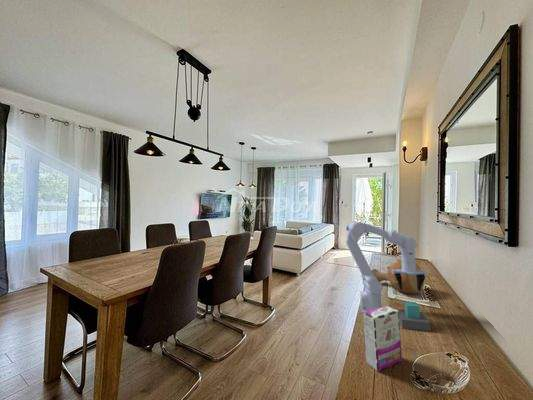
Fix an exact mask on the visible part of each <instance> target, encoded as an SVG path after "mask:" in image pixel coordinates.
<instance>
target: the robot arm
mask: <svg viewBox="0 0 533 400" xmlns="http://www.w3.org/2000/svg"><path fill="white" fill-rule="evenodd" d="M368 233H371V234H373V235H377V236H379V237H383V238H384V239H385V241H386V242H387V243H391V244H394V245H396V246H399V247H400V257H401V258H400V259H401V260H400V261H402V269H392V274H394V275H395V277H396V279H397V281H398V284H399V288H400V290H402V277H401V275H400V274H405V275H416V277H417V290H418V291H421V286H422V283H423V281H424V282H425V280H426V277H427V276H428V272H427V271H426V270H422V269H421V270H422V271H421V270H416V266H415V262H416V248H417V247H418V242H417V241H416V240H415V238H413V237H411V236H407V235H406V234H404V233H400V232H397V230H395V229H389V230H387V231H386V230H385V229H381V228H380V227H377V226H374V225H372V224H369V223H363V222H361V221H355V220H354V221H350V222H349V223H348V224H347V225H346V226H345V244H346V246H347V248H348V250H349V252H350V254H351V256H352V259H353V260H354V262H355V264H356V266H357V268H358V270H359V272H360V273H361V275H360V276H361V278H362V285H363V286H364V287H365V288H364V290H360V292H359V293H360V294H359V297H360V302H359V304H360V305H359V306H360V309H361V313H363V312H367V311H370V310H374V309H377V308H381V307H383V305H382V291H383V289H384V287H383V284H382V283H381V282H379V281H378V280H377V279H376V277H375V276H374V274H373V273H372V269H371V267H370V265H369V262H368V261H367V259H366V258H365V255H364V254H363V252H362V250H361V247H360V245H359V244H358V242H359V240H360V238H361V237H362V236H363V235H364V234H368ZM421 292H422V291H421Z"/></svg>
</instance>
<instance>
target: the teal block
mask: <svg viewBox="0 0 533 400" xmlns="http://www.w3.org/2000/svg"><path fill="white" fill-rule="evenodd" d="M403 303H404V305H403V306H404V310H405V314H406V316H407V317H408V318H417V319H420V312H421V310H420V305H419V304H418V303H417V301H406V300H405V301H403Z"/></svg>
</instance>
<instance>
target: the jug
mask: <svg viewBox="0 0 533 400" xmlns="http://www.w3.org/2000/svg"><path fill="white" fill-rule="evenodd" d="M415 266H416V270H421V271H423V269H421V267H420V265H419V263H417V262H416V261H415ZM386 268H387V272H380V271H379V270H378V269H377V268H374V269H371V271H372V273H373V274H374V276H375V277H376V279H377V280H378V281H379V282H380V283H381V282H383V281H386V282H389V284H390V285H391V286H392V287H393V288H394V289H396V290H398V291H400V292H403V293H405V294H411V295H418V294H421V293H422V292H423V290H424V287H425V280H424V281H423V283H422V286H421V291H418V290H417V277H416V275H405V274H400V275H401V277H402V290H400V288H399V284H398V281H397V279H396V277H395V275H394V274H392V269H402V261H401V260H399V261H396V262H394V263H393V264H391V265H388V266H387V267H386Z"/></svg>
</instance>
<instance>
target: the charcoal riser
mask: <svg viewBox="0 0 533 400" xmlns="http://www.w3.org/2000/svg"><path fill="white" fill-rule="evenodd" d="M396 310H398V311H399V325H400V327H401V329H405V330H414V331H415V330H416V331H423V332H424V331H425V332H431V322H430V321H429V319H428V318H427V316H426V315H424V312H423V311H420V319H417V318H408V317H407V316H406V314H405V309H396Z"/></svg>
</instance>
